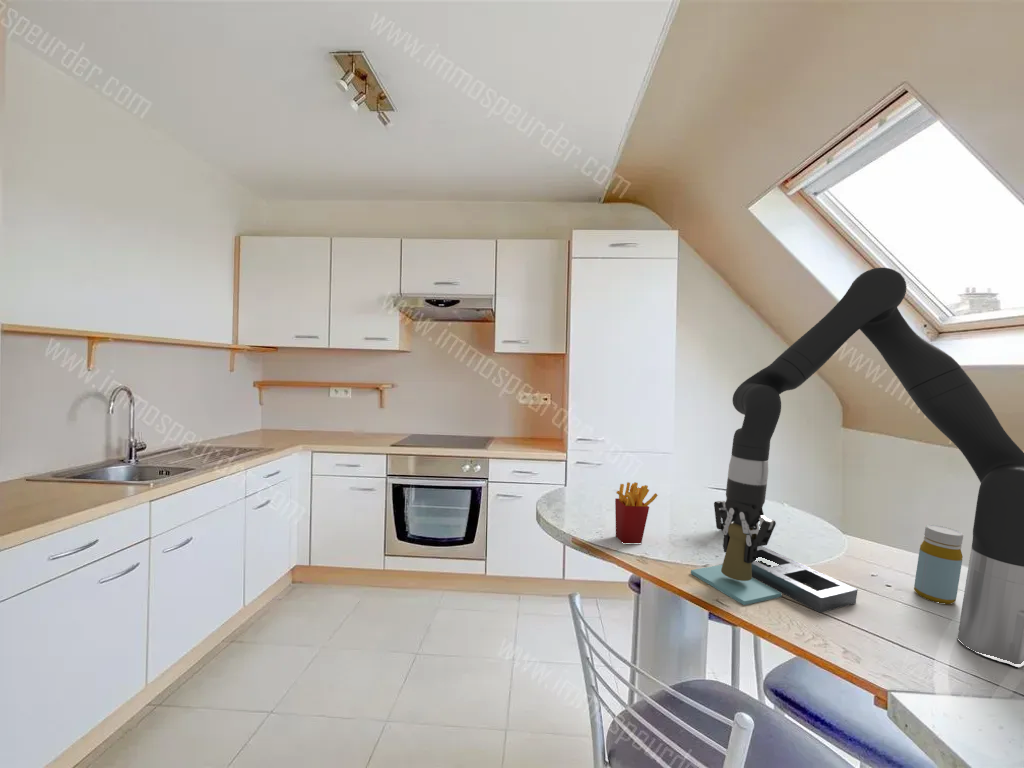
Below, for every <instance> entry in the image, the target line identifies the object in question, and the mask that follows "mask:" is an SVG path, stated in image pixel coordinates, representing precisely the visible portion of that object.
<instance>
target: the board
mask: <svg viewBox="0 0 1024 768" xmlns="http://www.w3.org/2000/svg"><path fill="white" fill-rule="evenodd" d="M722 565H723V564H719V565H712V566H708V567H701V568H695V569H691V570H690V574H691V575H692V576H694V577H696V578H697V579H699V580H701V581H702V582H704V583H706V584H707V585H709V586H711V587H713V588H714V589H716V590H718V591H719V592H721V593H723V594H725V596H728V597H729V598H731V599H733V600H735V601H736V602H738V603H740V604H741V605H743V606H747V605H751V604H755V603H759V602H765V601H769V600H774V599H777V598H782V595H783V593H781V592H779V591H777V590H776V589H774V588H772V587H770V586H768V585H766V584H764V583H762V582H760V581H758V580H757V579H755V578H753V577H752V579H751V580H749V581H740V580H735V579H732V578H729V577H727V576H725V575H724V574H723V573H722V572H721V569H722Z"/></svg>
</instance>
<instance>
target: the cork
mask: <svg viewBox="0 0 1024 768" xmlns="http://www.w3.org/2000/svg"><path fill="white" fill-rule="evenodd" d="M749 530H753V528H749ZM728 533H729V536H730V539H729V543H728V547H727V550H726V552H725V555H724V558H723V563H722V564H721V565H722V569H721V572H722V573H723V574H724V575H725V576H727V577H729V578H732V579H735V580H740V581H749V580H751V579H752V578H753V577H752V563H746V562H744V555H745V546H746V545H747V543H746V534H744V533H743V529H742V526H740V525H738V524H735V523H732V524H731V525H730V526H729V527H728ZM753 538H754V534H752V540H753Z"/></svg>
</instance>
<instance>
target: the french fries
mask: <svg viewBox="0 0 1024 768" xmlns="http://www.w3.org/2000/svg"><path fill="white" fill-rule="evenodd" d="M624 487H625V485H624V483H620V484H619V490H617V491H616V492H615V493H616V494H617V495H618V498H615V500H614V502H615V505H614V506H615V507H614V508H615V511H614V512H615V537H616V538H617V539H618V540H619V542H620V543H622V542H623V543H641V544H642V542H643V537H644V533H645V529H646V524H647V520H648V514H649V510H650V506H649V505H650V504H651V503H653V502H654V501H655V500H656V499H657V497H658V496H659V494H657V493H654V494H653V495H652V496H651V497H650V499H648V500H647V501H646V502H644V500H645V498H646V497H647V495H648V493H649V491H650V489H649V488H648V487H649V486H648V485H646V484H645V485H641V487H638V482H633V483H632V484H631V482H629V481H627V482H626V488H625V491H624ZM624 492H625V493H624ZM623 543H622V544H623Z"/></svg>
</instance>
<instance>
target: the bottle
mask: <svg viewBox="0 0 1024 768" xmlns="http://www.w3.org/2000/svg"><path fill="white" fill-rule="evenodd" d="M924 528H925V529H924V533H923V534H924V536H923V541H922V542H921V544H920V546H919V550H918V551H919V552H918V558H917V565H916V570H915V579H914V585H913V586H914V587H913V590H914V592H915V594H917V595H918V596H919V597H921V598H922V599H925V600H927V601H930V602H932V601H934V602H933V603H936V602H939V603H938V604H940V603H945V604H944V605H952V604H954V603H955V602H956V601H957V596H958V591H959V590H958V589H959V584H960V578H961V577H960V576H961V570H962V564H963V553H962V545H963V540H964V533H963V532H961V531H959V530H957V529H954V528H951V527H947V526H943V525H938V524H937V525H935V524H927V525H926V526H925V527H924ZM951 603H952V604H951Z"/></svg>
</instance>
